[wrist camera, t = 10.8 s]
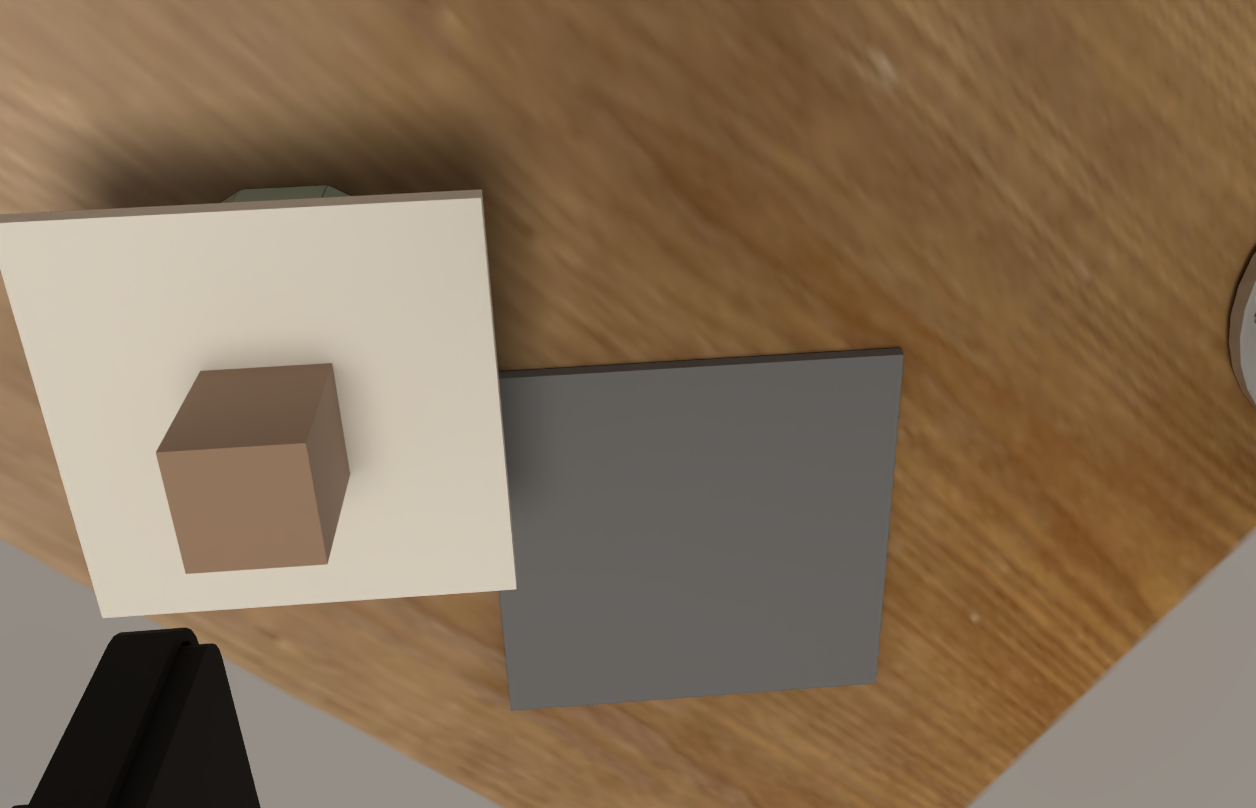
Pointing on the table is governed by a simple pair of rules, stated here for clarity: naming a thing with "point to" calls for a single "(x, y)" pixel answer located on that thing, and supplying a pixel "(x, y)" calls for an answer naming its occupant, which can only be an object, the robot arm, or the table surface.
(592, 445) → the mat
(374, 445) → the lid
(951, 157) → the table surface
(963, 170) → the table surface
